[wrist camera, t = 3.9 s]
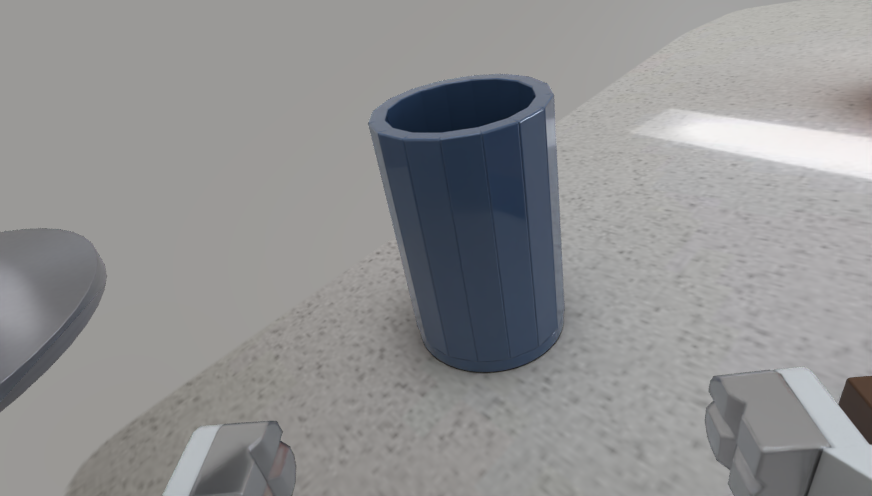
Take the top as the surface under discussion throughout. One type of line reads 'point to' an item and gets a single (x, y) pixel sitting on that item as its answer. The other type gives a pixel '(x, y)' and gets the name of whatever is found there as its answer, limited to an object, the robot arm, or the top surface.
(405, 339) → the top surface
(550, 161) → the tumbler
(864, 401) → the tray
